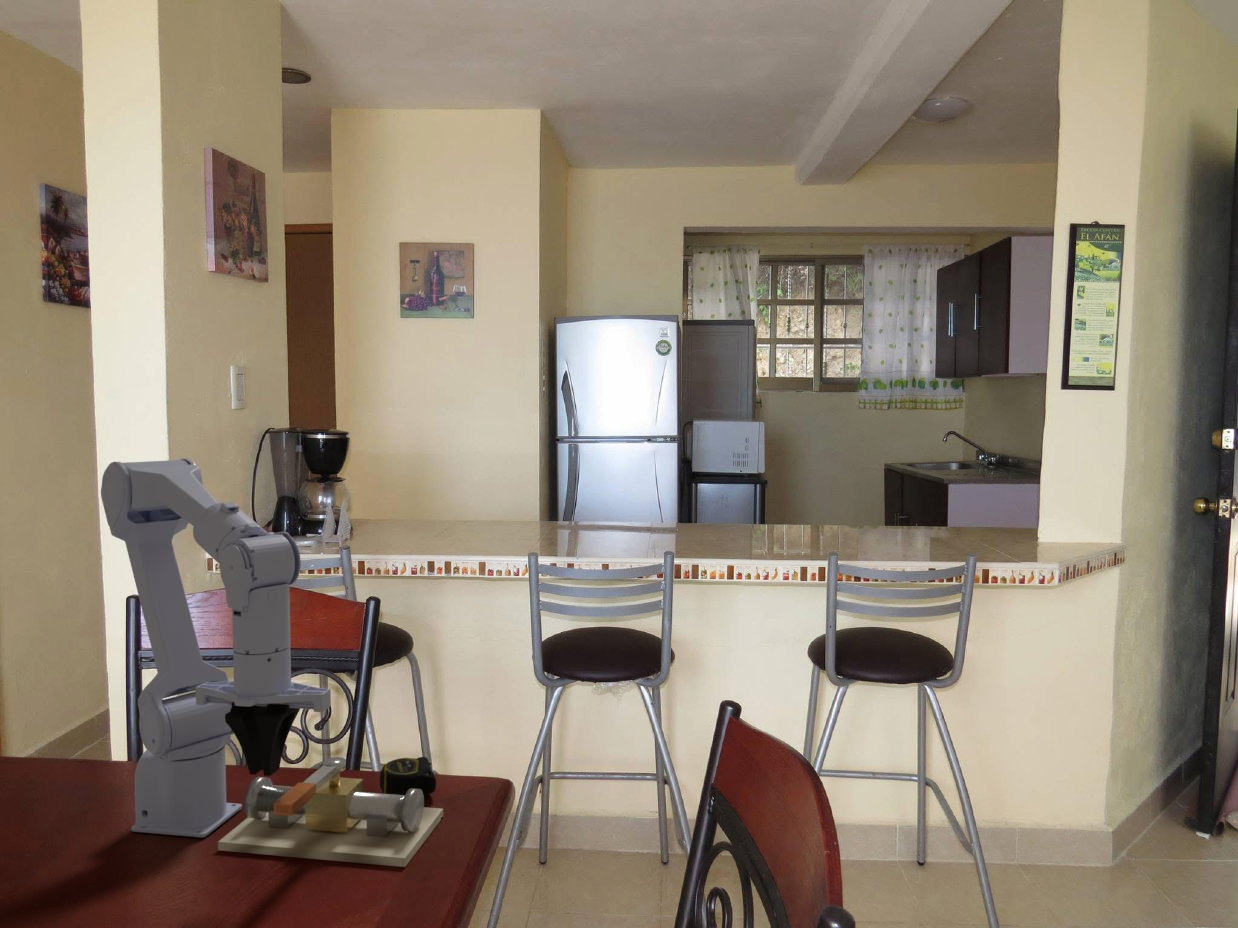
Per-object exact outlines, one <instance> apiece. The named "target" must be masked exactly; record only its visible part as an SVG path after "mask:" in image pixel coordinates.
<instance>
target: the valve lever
mask: <svg viewBox="0 0 1238 928" xmlns="http://www.w3.org/2000/svg"><path fill="white" fill-rule="evenodd" d="M345 770H346V759H345V758H344V757H340V756H334V757H329V758H326V759H324V760H323V763H322V766H320V767H319V768H318V769H317V770H316V771H314V772H313V773H312V774H311V775H310V776H308V777H307V778H306V779H305V780H304V781H303V782H302V781H301V782H299V781H298V782H297V783H296V784H295V785H294V786H292V787H293V788H291V789H290V790H289V791H288V792H287V793H285V794H284V795H283V796H282V797H281V798H279V799H278V800H277V801H276V802H275V803H274V814H275V815H287V816H292V815H293V814H295V813H296V812H297V811H298V810H299V809H300V808H301V807H302V806H304V805H305V804H306V803H307V802H308V801H309V800H310V799H311V798H313V797H314V796H315V795H316V791H317V790H318V789H319V788H320V787H321V786H322V785H323V784H325V783H326V782H327V781H328V780H329V779H330V778H331V777H332V776H334V775H335V774H336V773H340V774H341V773H342V772H344V771H345Z"/></svg>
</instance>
